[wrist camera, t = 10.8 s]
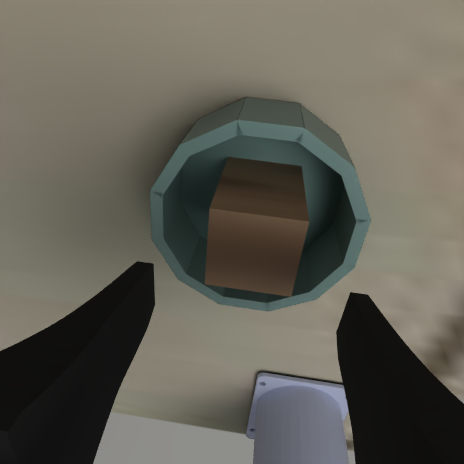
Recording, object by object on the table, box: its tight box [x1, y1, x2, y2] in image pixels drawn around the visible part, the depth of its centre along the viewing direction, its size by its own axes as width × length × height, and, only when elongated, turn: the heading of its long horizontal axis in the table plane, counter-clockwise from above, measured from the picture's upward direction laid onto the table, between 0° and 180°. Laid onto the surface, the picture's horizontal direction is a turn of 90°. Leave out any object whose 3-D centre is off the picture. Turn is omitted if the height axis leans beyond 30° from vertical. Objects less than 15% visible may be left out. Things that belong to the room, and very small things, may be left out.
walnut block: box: [205, 157, 309, 297], centre depth 18 cm, size 4×4×6 cm
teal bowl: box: [150, 97, 371, 311], centre depth 19 cm, size 10×10×4 cm
